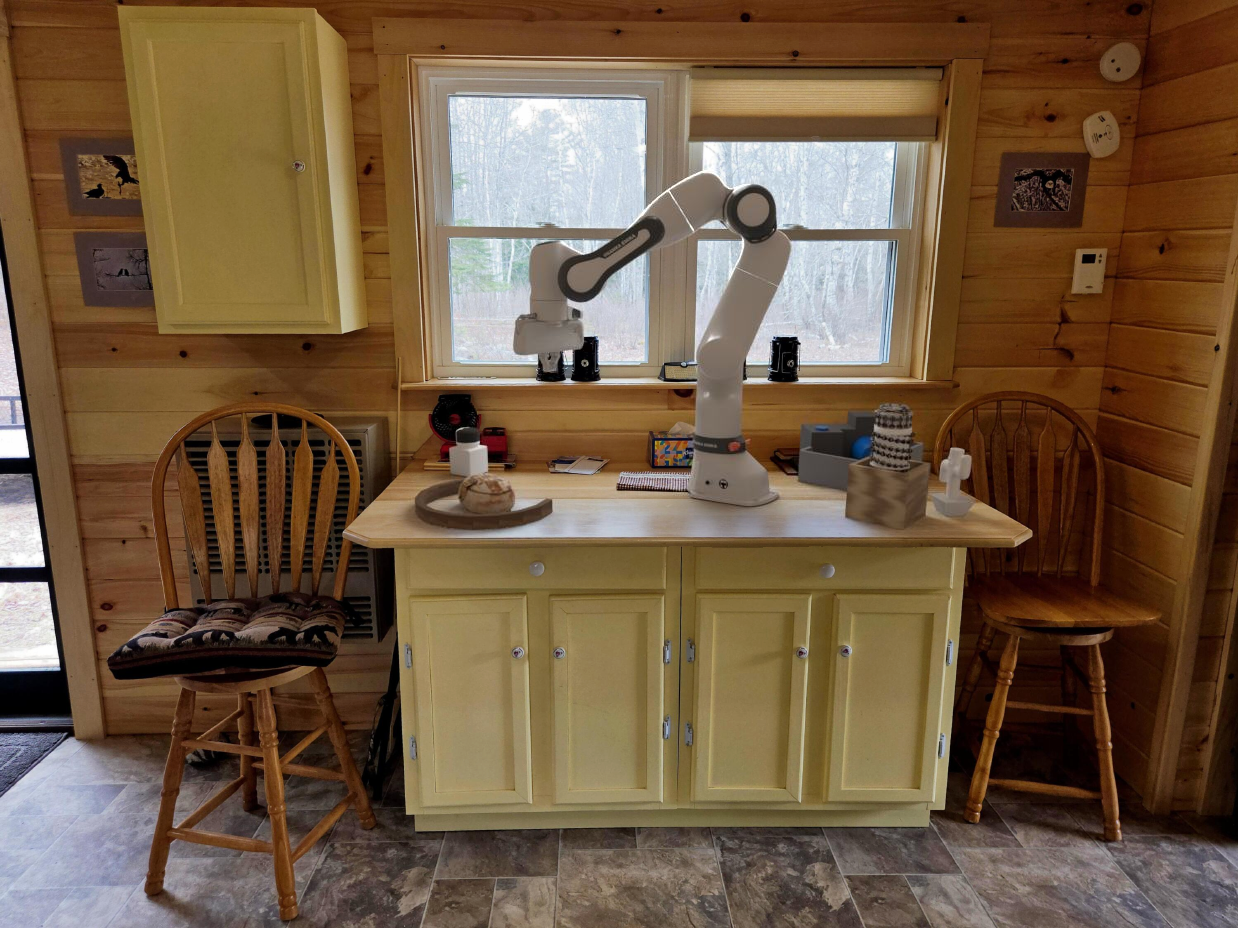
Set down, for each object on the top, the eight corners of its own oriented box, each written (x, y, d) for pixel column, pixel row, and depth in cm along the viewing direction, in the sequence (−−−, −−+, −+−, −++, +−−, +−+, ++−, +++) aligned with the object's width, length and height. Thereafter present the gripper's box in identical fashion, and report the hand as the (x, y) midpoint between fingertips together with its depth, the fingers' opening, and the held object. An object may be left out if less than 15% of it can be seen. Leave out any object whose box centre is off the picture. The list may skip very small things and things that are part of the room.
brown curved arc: (558, 513, 183) (558, 500, 183) (475, 540, 166) (475, 526, 165) (469, 488, 203) (469, 476, 202) (387, 509, 186) (386, 496, 185)
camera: (814, 484, 210) (818, 423, 206) (798, 467, 225) (802, 411, 221) (910, 483, 210) (916, 423, 206) (888, 467, 226) (893, 411, 222)
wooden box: (925, 515, 183) (930, 463, 180) (901, 529, 174) (907, 474, 171) (870, 503, 191) (874, 453, 188) (844, 516, 182) (848, 464, 179)
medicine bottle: (488, 471, 218) (487, 427, 215) (470, 477, 212) (468, 432, 209) (468, 468, 222) (466, 424, 219) (449, 473, 216) (447, 429, 213)
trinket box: (477, 497, 196) (476, 465, 194) (531, 505, 189) (530, 472, 188) (442, 512, 184) (440, 478, 182) (498, 522, 178) (497, 487, 176)
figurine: (954, 506, 190) (961, 443, 186) (976, 518, 181) (984, 452, 177) (924, 507, 189) (931, 443, 185) (945, 520, 180) (953, 453, 176)
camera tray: (922, 472, 219) (925, 443, 217) (874, 496, 197) (876, 464, 195) (848, 459, 233) (851, 431, 231) (796, 480, 211) (798, 450, 209)
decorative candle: (902, 525, 176) (913, 410, 170) (859, 518, 181) (868, 406, 175) (910, 513, 184) (921, 404, 178) (868, 507, 189) (877, 400, 182)
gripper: (525, 315, 182) (526, 377, 186) (588, 311, 197) (588, 368, 201) (506, 314, 186) (507, 374, 190) (569, 309, 201) (569, 366, 205)
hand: (549, 371), depth 195 cm, fingers closed
